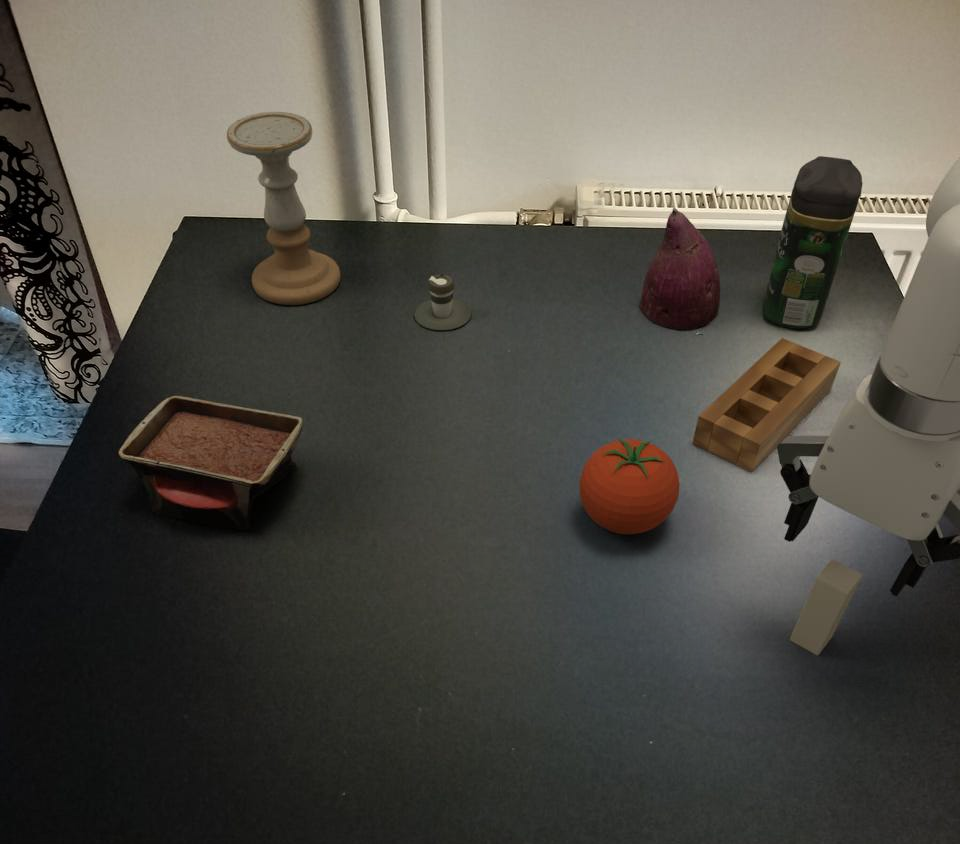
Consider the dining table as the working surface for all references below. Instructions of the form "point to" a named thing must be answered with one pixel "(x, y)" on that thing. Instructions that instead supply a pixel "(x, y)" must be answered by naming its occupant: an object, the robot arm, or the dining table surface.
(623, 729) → the dining table surface
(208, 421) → the baking dish
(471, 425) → the dining table surface
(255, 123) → the candle holder
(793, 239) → the coffee jar
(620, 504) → the tomato
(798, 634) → the peg
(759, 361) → the peg block
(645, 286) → the vegetable
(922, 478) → the robot arm
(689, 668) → the dining table surface
